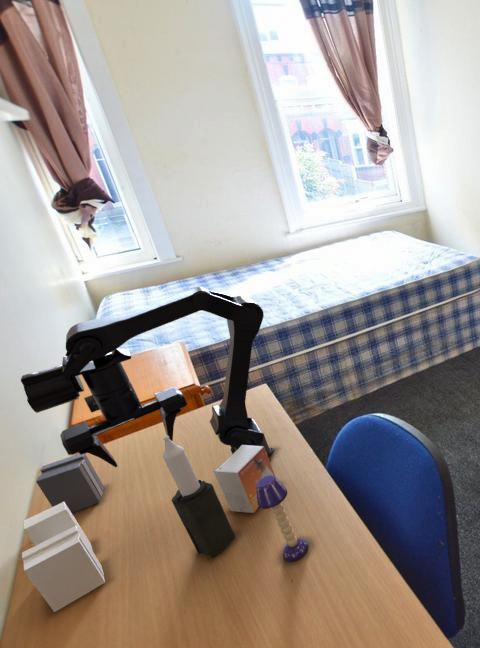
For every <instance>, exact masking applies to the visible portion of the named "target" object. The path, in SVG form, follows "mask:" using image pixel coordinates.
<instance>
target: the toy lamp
mask: <svg viewBox="0 0 480 648" xmlns="http://www.w3.org/2000/svg"><path fill="white" fill-rule="evenodd" d="M256 491H257V503H258V506H259V507H258V508H260V509H262V510H269V509H271V513H272V514H273V515H274V518H275V520H276V521H277V525H278V527H279V528H280V532H281V533H282V534H283V538H284V539H285V540H286V544H285V546H284V548H283V551H282V556H283V559H284V561H286V562H295V561H298V560H300V559H301V558H302V557H304V556H305V554H307V552H308V550H309V543H308V541H307V540H306V539H304V538H301V537H297V536H296V533H295V530H293V526H292V524H291V522H290V519H289V517H288V516H287V512H286V511H285V510H284V505H283V504H282V502H284V501H285V499H286V498H287V496H288V489H287V488H286V486H285V485H284V484H283V483H282V482H281V481H280V480H279V479H278V478H277V477H276V475H275V476H273V475H267V476H264V477H262V478H261V479H260V480H259V481H258V482H257V484H256Z"/></svg>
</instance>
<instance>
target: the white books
mask: <svg viewBox="0 0 480 648" xmlns="http://www.w3.org/2000/svg"><path fill="white" fill-rule="evenodd" d="M92 550H93V548H92V549H91V548H90V546H89V545H88V543H87V542H86V540H85V538H84V537H83V535H82V534H81V532H80V530H79V529H78V527H77V526H74V527H72V528H70V529H68V530H66V531H64V532H62V533H60V534H58V535H56V536H54V537H52V538H50V539H48V540H46V541H44V542H42V543H40V544H38V545H36V546H35V545H34V546H32V547H30V548H29V549H27V550H24V551H23V552H22V553H21V556H22V557H21V558H22V560H23V571H24V573H25V574H26V575H27V577H28V579H29V580H30V581H31V582H32V584H33V585H34V586H35V588H36V589H37V590H38V592H39V593H40V595H41V596H42V598H43V599H44V600H45V602H46V603H47V605H48V606H49V607H50V609H51V610H52V611H53V613H56V612H57V611H60V610H61V609H63V608H64V607H66V606H68V605H70V604H71V603H73V602H75V601H76V600H78V599H80V598H81V597H83V596H85V595H86V594H88V593H90V592H92V591H94V590H95V589H97V588H98V587H100V586H102V585H104V584H105V583H106V581H105V574H104V570H103V566H102V564H101V562H100V561H99V559H98V556H96V554H95V553H94V550H93V551H92Z"/></svg>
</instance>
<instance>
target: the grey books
mask: <svg viewBox="0 0 480 648" xmlns="http://www.w3.org/2000/svg"><path fill="white" fill-rule="evenodd" d="M35 483H36V484H37V486H38V487H39V489H40V490H41V492H42V493H43V495H44V497H45V498H46V499H47V501H48V503H49V505H50V506H51V508H52V507H54V506H56V505H58V504H60V503H62V502H65V503H66V505H67V507H68V508H69V510H70V511H71V513H72V514H73V513H75V512H78V511H81V510H83V509H86V508H88V507H91V506H93V505H96V504H99V503H101V499H102V497H103V494H104V491H105V485H104V483H103V482H102V481H101V479H100V477H99V475H98V473H97V472H96V470H95V468H94V466H93V464H92V463H91V461H90V460H89V457H88V456H87V453H85V454H82V455H80V454H79V453H77V454H74V455H72V456H69V457H66V458H63V459H59V460H56V461H54V462H51V463H48V464H45V465H42V466H41V468H40V475H38V477H37V478H36V480H35Z"/></svg>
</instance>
